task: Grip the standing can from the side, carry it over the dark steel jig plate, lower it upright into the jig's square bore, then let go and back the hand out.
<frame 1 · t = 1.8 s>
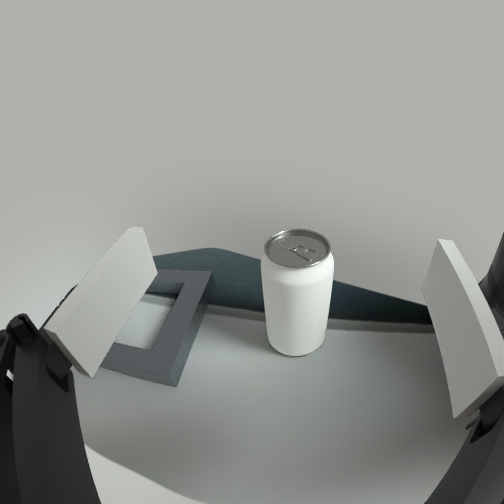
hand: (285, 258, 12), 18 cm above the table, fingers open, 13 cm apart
jig: (139, 321, 34), on the table
can: (296, 335, 30), on the table
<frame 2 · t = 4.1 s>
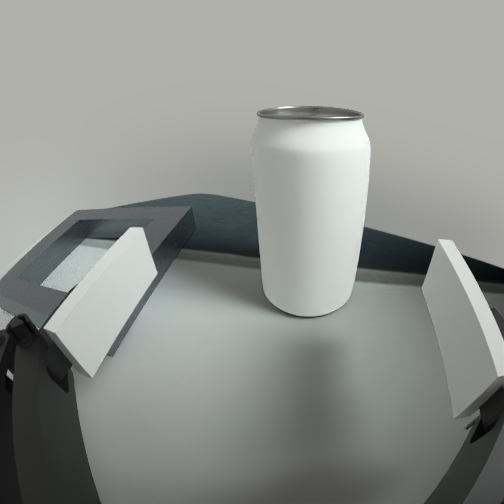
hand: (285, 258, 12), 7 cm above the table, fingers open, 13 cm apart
jig: (89, 269, 24), on the table
can: (307, 289, 20), on the table
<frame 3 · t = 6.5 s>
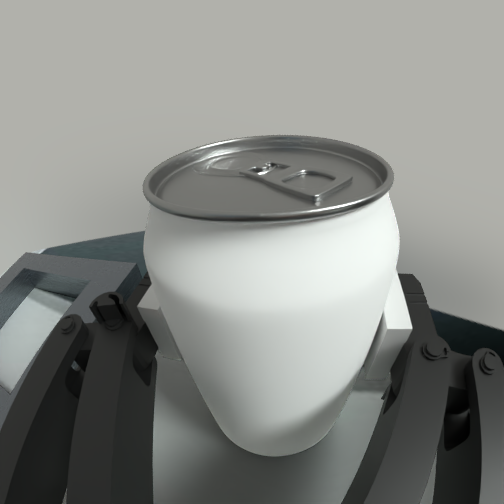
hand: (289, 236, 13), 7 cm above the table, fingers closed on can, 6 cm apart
jig: (30, 337, 17), on the table
can: (277, 403, 13), on the table, touching gripper
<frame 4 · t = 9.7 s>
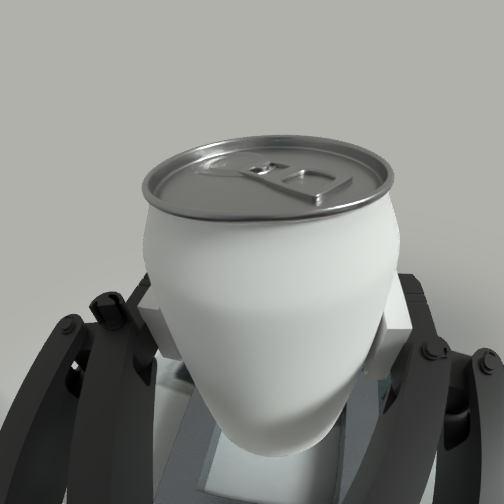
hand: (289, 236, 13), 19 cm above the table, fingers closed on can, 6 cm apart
jig: (277, 452, 20), on the table
can: (277, 404, 13), point 12 cm above the table, touching gripper
when the fingers open (8 cm above the table, at t = 13.2 s): can stays where it is, resting in jig.
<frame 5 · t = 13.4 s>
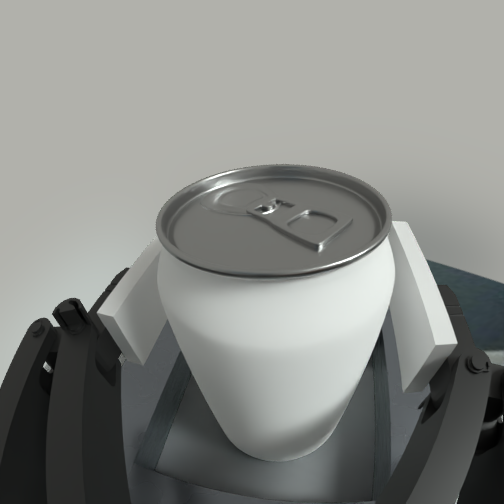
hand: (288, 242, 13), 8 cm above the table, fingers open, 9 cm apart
jig: (277, 408, 13), on the table
can: (279, 411, 13), resting in jig
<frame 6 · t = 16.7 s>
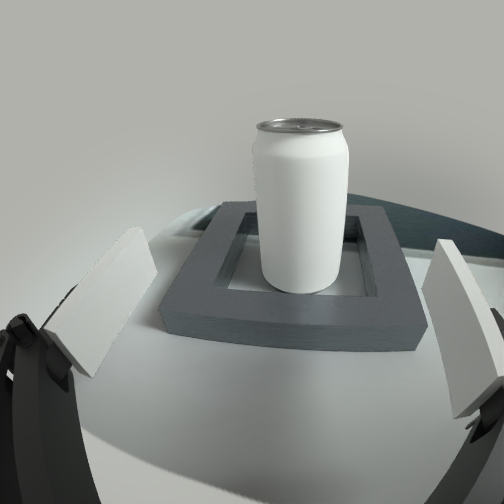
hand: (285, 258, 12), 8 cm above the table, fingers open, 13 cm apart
jig: (298, 270, 23), on the table
can: (300, 272, 23), resting in jig
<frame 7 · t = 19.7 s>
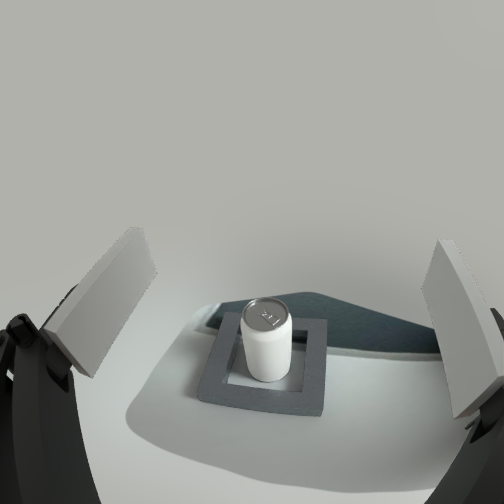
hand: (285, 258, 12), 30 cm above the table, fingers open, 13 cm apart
jig: (268, 364, 40), on the table
can: (269, 366, 40), resting in jig
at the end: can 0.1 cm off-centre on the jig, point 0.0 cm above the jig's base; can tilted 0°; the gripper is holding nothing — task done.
